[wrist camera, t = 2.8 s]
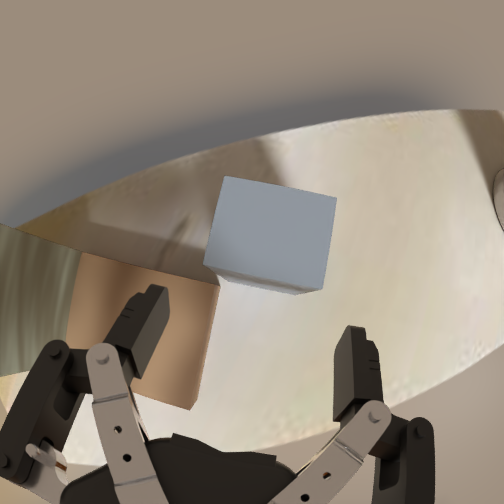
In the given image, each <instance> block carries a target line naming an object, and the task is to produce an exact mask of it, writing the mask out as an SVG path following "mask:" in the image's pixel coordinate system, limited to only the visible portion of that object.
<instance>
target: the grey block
mask: <svg viewBox="0 0 504 504" xmlns="http://www.w3.org/2000/svg"><path fill="white" fill-rule="evenodd" d="M336 201H337V198H336V197H331V196H327V195H322V194H318V193H313V192H309V191H304V190H299V189H294V188H289V187H284V186H279V185H274V184H269V183H264V182H258V181H253V180H247V179H242V178H236V177H230V176H224V180H223V183H222V187H221V191H220V195H219V199H218V203H217V207H216V211H215V215H214V219H213V223H212V227H211V231H210V235H209V239H208V243H207V248H206V252H205V256H204V260H203V265H204V266H206V267H207V268H209V269H210V270H212V271H213V272H215V273H216V274H218V275H219V276H221V277H222V278H224V279H226V280H227V281H229V282H234V283H238V284H243V285H248V286H253V287H257V288H262V289H267V290H272V291H277V292H282V293H287V294H292V295H298V294H303V293H308V292H312V291H317V290H321V289H322V288H323V283H324V277H325V272H326V266H327V260H328V254H329V248H330V242H331V236H332V229H333V222H334V215H335V208H336Z"/></svg>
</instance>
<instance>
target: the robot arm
mask: <svg viewBox="0 0 504 504" xmlns="http://www.w3.org/2000/svg"><path fill="white" fill-rule="evenodd" d="M493 192H494V203H495V208H496V212H497V215H498V218H499V221H500V223H501V225H502V227H503V230H504V168H503V169H502V170H500V171H499V172H498V174H497V175H496V178H495V180H494V187H493ZM169 316H170V304H169V293H168V288H167V287H164V286H160V285H156V284H150V285H149V287H148V288H147V290H146V292H145V293H140V292H138V293H136V294H135V295H134V296H132V297H131V298H130V299H129V300H128V302H127V303H126V305H125V307H124V309H123V310H122V311H121V313H120V316H118V318H117V319H116V321H115V323H114V324H113V326H112V328H111V329H110V331H109V333H108V334H107V336H106V338H105V339H104V341H103V342H102V343H98V344H96V345H94V346H92V347H91V348H90V349H73V348H69V346H68V344H67V343H66V342H64V341H63V340H58V339H57V340H52V341H50V342H48V343H47V344H46V345H45V346H44V347H43V349H42V351H41V352H40V354H39V356H38V358H37V359H36V361H35V363H34V365H33V366H32V368H31V370H30V372H29V374H28V376H27V377H26V379H25V381H24V383H23V385H22V387H21V389H20V391H19V393H18V395H17V397H16V399H15V401H14V403H13V405H12V407H11V409H10V411H9V413H8V415H7V417H6V420H5V422H4V424H3V426H2V429H1V431H0V476H1V477H3V478H5V479H7V480H9V481H10V482H12V483H14V484H16V485H18V486H20V487H23V488H25V489H28V490H30V491H31V492H33V493H35V494H36V495H38V496H40V497H41V498H43V499H45V500H46V501H48V502H50V503H52V504H328V503H329V502H330V501H331V500H332V499H333V498H334V496H335V495H336V494H337V493H338V492H339V491H340V490H341V489H342V488H343V487H344V486H345V484H346V483H347V482H348V481H349V480H350V479H351V478H352V476H353V475H354V474H355V473H356V472H357V471H358V469H359V468H360V467H361V465H362V464H363V459H364V458H365V456H366V455H367V454H369V455H372V456H375V457H376V460H375V474H374V486H373V496H372V504H434V502H435V448H434V431H433V427H432V425H431V423H430V422H429V421H428V420H426V419H425V418H422V417H417V418H414V419H412V420H411V421H408V420H405V419H402V418H400V417H397V416H395V415H393V414H392V413H391V412H390V410H389V408H388V407H387V405H385V404H384V401H383V391H382V380H381V371H380V363H379V353H378V349H377V348H376V346H375V344H374V342H373V341H370V340H367V339H366V331H365V328H363V327H356V326H350V325H348V326H347V327H346V329H345V331H344V333H343V335H342V337H341V339H340V340H339V342H338V344H337V346H336V349H335V353H334V399H333V422H340V429H339V430H338V431H337V433H336V434H335V435H334V436H333V437H332V438H331V439H330V440H329V441H328V442H327V443H326V444H325V445H324V446H323V447H322V448H321V449H320V450H319V452H317V454H316V455H315V456H313V457H312V458H311V459H310V460H309V461H308V462H307V463H306V464H305V465H304V466H303V467H302V468H300V469H299V470H298V471H297V472H296V473H294V472H293V471H292V470H291V469H290V468H288V467H287V466H285V465H284V464H282V463H280V462H278V461H276V456H275V455H268V454H262V453H256V452H221V451H219V450H217V449H215V448H213V447H211V446H209V445H207V444H205V443H203V442H201V441H199V440H196V439H193V438H189V437H185V436H182V435H179V434H175V433H173V435H172V437H171V438H158V439H153V440H150V439H149V436H148V434H147V431H146V429H145V426H144V424H143V422H142V419H141V416H140V413H139V410H138V407H137V404H136V401H135V398H134V395H133V392H132V388H131V385H130V384H131V382H132V380H133V378H134V377H135V378H137V379H140V380H141V379H142V377H143V375H144V372H145V370H146V368H147V366H148V364H149V361H150V359H151V357H152V355H153V353H154V351H155V348H156V346H157V344H158V342H159V340H160V338H161V336H162V334H163V331H164V329H165V327H166V325H167V323H168V320H169ZM85 394H93V399H94V402H92V408H93V413H94V417H95V421H96V425H97V429H98V433H99V436H100V440H101V443H102V447H103V450H104V454H105V457H106V460H107V464H105V465H103V466H102V467H100V468H98V469H96V470H94V471H92V472H90V473H88V474H86V475H84V476H82V477H80V478H78V479H76V480H74V481H72V482H70V483H69V482H68V480H67V477H66V469H67V462H66V459H65V457H64V455H63V454H62V450H63V448H64V445H65V442H66V440H67V437H68V435H69V432H70V430H71V427H72V425H73V422H74V420H75V417H76V415H77V412H78V410H79V408H80V405H81V403H82V401H83V398H84V396H85Z"/></svg>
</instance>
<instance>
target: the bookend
mask: <svg viewBox="0 0 504 504" xmlns="http://www.w3.org/2000/svg"><path fill="white" fill-rule="evenodd" d="M150 284H156V285H160V286H164V287H167V288H168V293H169V304H170V316H169V320H168V323H167V325H166V327H165V329H164V331H163V334H162V336H161V338H160V340H159V342H158V344H157V346H156V348H155V351H154V353H153V355H152V357H151V359H150V361H149V364H148V366H147V368H146V370H145V372H144V375H143V377H142V379H141V380H140V379H137V378H135V377H134V378H133V380H132V382H131V384H130V385H131V388H132V392H134V393H137V394H140V395H142V396H145V397H148V398H151V399H154V400H157V401H160V402H164V403H167V404H170V405H173V406H177V407H180V408H183V409H187V410H190V409H191V408H192V406H193V405H194V403H195V402H196V401H197V397H198V392H199V387H200V382H201V377H202V372H203V367H204V362H205V357H206V352H207V348H208V343H209V338H210V333H211V328H212V324H213V319H214V314H215V309H216V305H217V300H218V296H219V291H220V286H218V285H215V284H211V283H206V282H202V281H197V280H193V279H189V278H184V277H180V276H176V275H172V274H167V273H163V272H159V271H155V270H151V269H147V268H143V267H139V266H135V265H131V264H127V263H123V262H119V261H115V260H111V259H107V258H104V257H100V256H96V255H92V254H89V253H85V252H81V251H78V250H75V249H72V248H69V247H66V246H63V245H60V244H57V243H54V242H51V241H48V240H45V239H42V238H40V237H37V236H34V235H31V234H28V233H25V232H22V231H20V230H17V229H14V228H11V227H9V226H6V225H3V224H0V377H2V376H7V375H11V374H16V373H21V372H25V371H30V370H31V368H32V366H33V365H34V363H35V361H36V359H37V358H38V356H39V354H40V352H41V351H42V349H43V347H44V346H45V345H46V344H47V343H48V342H50V341H52V340H57V339H58V340H63V341H64V342H66V343H67V344H68V346H69V348H73V349H90V348H91V347H92V346H94V345H96V344H98V343H102V342H103V341H104V339H105V338H106V336H107V334H108V333H109V331H110V329H111V328H112V326H113V324H114V323H115V321H116V319H117V318H118V316H120V313H121V311H122V310H123V309H124V307H125V305H126V303H127V302H128V300H129V299H130V298H131V297H132V296H134V295H135V294H136V293H138V292H140V293H145V292H146V290H147V288H148V287H149V285H150Z"/></svg>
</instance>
